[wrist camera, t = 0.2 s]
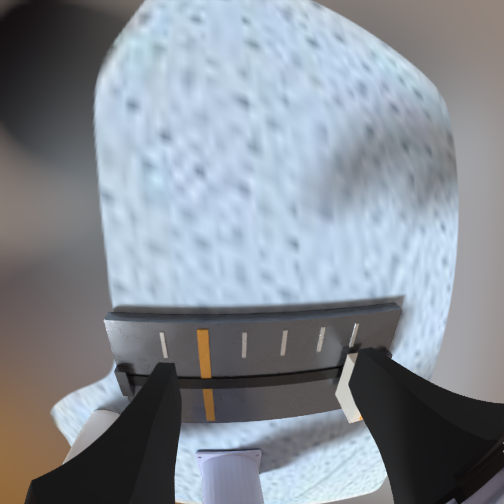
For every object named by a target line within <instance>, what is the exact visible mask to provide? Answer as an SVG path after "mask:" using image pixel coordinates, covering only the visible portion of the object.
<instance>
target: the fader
mask: <svg viewBox="0 0 504 504" xmlns="http://www.w3.org/2000/svg"><path fill="white" fill-rule="evenodd" d="M357 355H358V353H353V354H348V355H347V358H346V362H345V365H344V368H343V371H342V375H341V378H340V381H339V384H338V387H337V390H336V393H335V395H336V397H337V399H338V401H339V403H340V405H341V407H342V409H343V411H344V413H345V415H346V417H347V419H348V421H349V423H353V422H356V421H360V420H363V418H362V416H361V414H360V412H359V410H358V409H357V407H356V405H355V402H354V400H353V397H352V394H351V391H350V389H349V386H348V383H349V380H350V377H351V374H352V371H353V368H354V365H355V362H356V358H357Z"/></svg>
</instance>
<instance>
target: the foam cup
mask: <svg viewBox="0 0 504 504" xmlns="http://www.w3.org/2000/svg"><path fill="white" fill-rule="evenodd" d="M119 416H120V414H118V413H116V412H111V411H107V410H95V411H93V412H92V413H91V414H90V416H89V417H88V419H87V420H86V422H85V424H84V426H83V427H82V429H81V431H80V433H79V435H78V436H77V438H76V440H75V442H74V444H73V446H72V447H71V449H70V451H69V453H68V455H67V457H66V459H65V461H64V462H63V464H64V463H66V462H67V461H69V460H70V459H72V458H73V457H75V456H76V455H78V454H79V453H81V452H82V451H83V450H84V449H86V448H87V447H88V446H89V445H91V444H92V443H93V442H94V441H95V440H96V439H97V438H99V437H100V436H101V435H102V434H103V433H104V432H105V431H106V430H107V429H108V428H109V427H110V426H111V425H112V424H113V423H114V421H115V420H116V419H117V418H118V417H119ZM63 464H62V465H63Z"/></svg>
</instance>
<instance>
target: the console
mask: <svg viewBox="0 0 504 504" xmlns="http://www.w3.org/2000/svg"><path fill="white" fill-rule="evenodd" d="M401 310H402V309H401V308H400V307H399V306H398V305H397V304H396V303H389V304H380V305H371V306H362V307H352V308H341V309H329V310H315V311H300V312H282V313H259V314H218V315H182V314H141V313H119V312H109V313H108V314H107V316H106V317H105V319H104V323H105V327H106V330H107V334H108V338H109V341H110V345H111V348H112V352H113V355H114V358H115V362H116V365H117V366H116V368H115V371H114V372H115V375H116V378H117V381H118V383H119V386H120V389H121V391H122V394H123V396H128V399H129V401H130V402H131V401H132V400H133V398H134V397H135V396H136V394H137V393H138V392H139V390H140V389H141V387H142V386H143V384H144V383H145V381H146V380H147V378H148V377H149V375H150V374H151V372H152V371H153V369H154V367H155V366H156V364H157V363H159V362H165V363H175V367H176V373H177V378H178V383H179V388H180V393H181V397H182V412H181V422H186V423H229V422H249V421H262V420H273V419H282V418H290V417H297V416H304V415H310V414H316V413H322V412H327V411H332V410H337V409H342V407H341V405H340V403H339V401H338V399H337V397H336V395H335V393H336V390H337V387H338V384H339V381H340V378H341V375H342V371H343V368H344V365H345V362H346V358H347V355H348V354H353V353H358V352H359V349H364V348H369V347H372V348H374V349H376V350H378V351H379V352H381V353H383V354H384V355H386V356H387V357H389V358H392V354H391V353H390V352H389V347H390V345H391V342H392V339H393V336H394V333H395V330H396V327H397V324H398V320H399V317H400V314H401Z"/></svg>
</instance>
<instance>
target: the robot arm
mask: <svg viewBox="0 0 504 504" xmlns="http://www.w3.org/2000/svg"><path fill="white" fill-rule="evenodd" d="M348 386H349V389H350V391H351V394H352V397H353V400H354V402H355V405H356V407H357V409H358V410H359V412H360V414H361V416H362V418H363V420H364V422H365V424H366V425H367V427H368V429H369V431H370V433H371V435H372V436H373V438H374V440H375V442H376V444H377V446H378V449H379V451H380V454H381V457H382V459H383V462H384V465H385V468H386V471H387V475H388V477H389V481H390V485H391V490H392V493H393V498H394V504H504V453H503V450H504V444H503V442H504V404H502V403H492V402H486V401H481V400H476V399H472V398H468V397H465V396H462V395H459V394H456V393H453V392H451V391H449V390H446V389H443V388H441V387H439V386H437V385H435V384H433V383H431V382H429V381H427V380H425V379H423V378H422V377H420V376H418V375H416V374H415V373H413V372H411V371H410V370H408V369H406V368H405V367H403V366H402V365H400V364H398V363H397V362H395V361H394V360H392V359H391V358H389V357H387V356H386V355H384V354H383V353H381V352H379V351H378V350H376V349H374V348H372V347H369V348H364V349H359V352H358V355H357V358H356V362H355V365H354V368H353V371H352V374H351V377H350V380H349V383H348ZM181 412H182V397H181V393H180V388H179V383H178V378H177V373H176V367H175V363H165V362H159V363H157V364H156V366H155V367H154V369H153V371H152V372H151V374H150V375H149V377H148V378H147V380H146V381H145V383H144V384H143V386H142V387H141V389H140V390H139V392H138V393H137V394H136V396H135V397H134V398H133V400H132V401H131V402H130V404H129V405H128V406H127V407H126V409H125V410H124V411H123V412H122V413H121V415H120V416H119V417H118V418H117V419H116V420H115V421H114V423H113V424H112V425H111V426H110V427H109V428H108V429H107V430H106V431H105V432H104V433H103V434H102V435H101V436H100V437H99V438H97V439H96V440H95V441H94V442H93V443H92V444H91V445H89V446H88V447H87V448H86V449H84V450H83V451H82V452H81V453H79V454H78V455H76V456H75V457H73V458H72V459H70V460H69V461H67V462H66V463H64V464H63V465H61V466H60V467H58V468H56V469H54V470H52V471H51V472H49V473H47V474H45V475H43V476H40V477H38V478H36V479H34V480H32V482H31V484H30V486H29V489H28V492H27V496H26V499H25V503H24V504H175V482H174V476H175V464H176V456H177V449H178V441H179V434H180V427H181ZM261 455H262V452H261V450H246V451H224V452H196V453H195V456H196V459H197V463H198V466H199V470H200V473H201V477H202V498H203V504H264V499H263V494H262V489H261V483H260V478H259V468H260V462H261Z"/></svg>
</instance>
